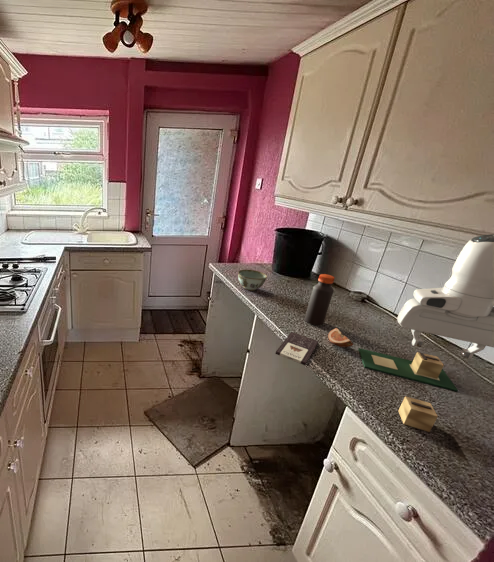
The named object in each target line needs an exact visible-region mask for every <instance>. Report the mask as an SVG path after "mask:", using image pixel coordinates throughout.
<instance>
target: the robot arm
mask: <svg viewBox="0 0 494 562" xmlns="http://www.w3.org/2000/svg"><path fill="white" fill-rule="evenodd" d="M412 296H413V298H410V299H408V300H407V301H406V302H405V303H404V304H403V306H402V307H401V309H400V311H399V313H398V314H397V317H396V321H397V323H398V324H399V325H400V327H401V328H403V329H407V330H410V332H411V334H412V338H413V339H412V340H411V345H412V346H414V347H417V348H422V346H423V344H424V341H423V339H422V338H420V337H419V336H422V335H421V334H422V333H427V334H430V335H436V336H440V337H444V338H449V339H454V340H458V341H463V342H467V343H471V344H472V346H470V347H468V348H463V347H462V348H461V351H460V353H459V355H460V356H461V358H463V359H464V358H465V359H468V360H471V359H472V358H473V356H474V354H477V353H479V352H481V351H484V350H485V349H486V347H490V348H494V233H492V234H491V233H489V234H481V235H477V236H474V237H472V238H471V239H469V240H468V241H467V242H466V243H465V245H464V246H463V248H462V249H461V250H460V252H459V254H458V255H457V258H456V260H455V261H454V264H453V266H452V268H451V275H450V277H449V278H448V280H447V281H446V282H445V283H444V285H443V286H442V287H432V288H431V287H430V288H416V289H415V290H414V291H413V294H412Z"/></svg>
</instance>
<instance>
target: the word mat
mask: <svg viewBox="0 0 494 562" xmlns="http://www.w3.org/2000/svg"><path fill="white" fill-rule="evenodd" d="M357 350H358V353H359V356H360V360H361V362H362V365H363V368H364V369H368V370H372V371H376V372H379V373H384V374H387V375H390V376H394V377H398V378H403V379H406V380H410V381H413V382H414V381H415V382H418V383H422V384H426V385H429V386H433V387H436V388H441V389H445V390H449V391H453V392H458V391H459V390H458V388H457V386H456V385H455V384H454V383H453V381H452V380H451V379H450V377H449V376H448V375H447V373H446V372H445V370H444V369H443V368H442V370H441V372H440V374H439V376H438V378H437V379H436V378H432V377H428V376H424V375H420V374H416V373H415V371H414V369H413V367H412V366H411V364H412V362H413V360H411V359H407V358H404V357H403V358H402V357H398V356H394V355H390V354H386V353H381V352H377V351H373V350H369V349H365V348H360V347H358V348H357Z"/></svg>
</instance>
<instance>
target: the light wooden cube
mask: <svg viewBox="0 0 494 562" xmlns="http://www.w3.org/2000/svg"><path fill="white" fill-rule="evenodd" d="M397 412H398V414H399V416H400V418H401V422H402V423H403V425H405V426H408V427H410V428H411V427H412V428H415V429H418V430H421V431H424V432H427V433H430V432H431V430H432V429H433V427H434V425H435V423H436V421H437V419H438V417H439V416H438V413H437V412H436V411H435V409H434V407H433V405H432V403H430V402H428V401H427V402H426V401H425V400H420V399H417V398H413V397H409V396H404V397H403V400H402V402H401V404H400V407H399V409H398V411H397Z"/></svg>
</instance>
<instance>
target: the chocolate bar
mask: <svg viewBox="0 0 494 562" xmlns="http://www.w3.org/2000/svg"><path fill="white" fill-rule="evenodd" d="M318 344H319V340H317V339H313V338H311V337H307V336H305V335H303V334H299V333H296V332H294V331H291V332H290V333H289V334H288V335H287V337H286V338H285V339H284V340H283V342H282V343H281V344H280V345H279V347H278V348H277V349H276V351H275V353H274V354H275V355H278V356H279V357H283V358H285V359H287V360H290V361H293V362H296V363H298V364H300V365H303V366H306V365H307V363H308V361H309V360H310V358H311V356H312V354H313V353H314V351H315V349H316V348H317V346H318Z"/></svg>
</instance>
